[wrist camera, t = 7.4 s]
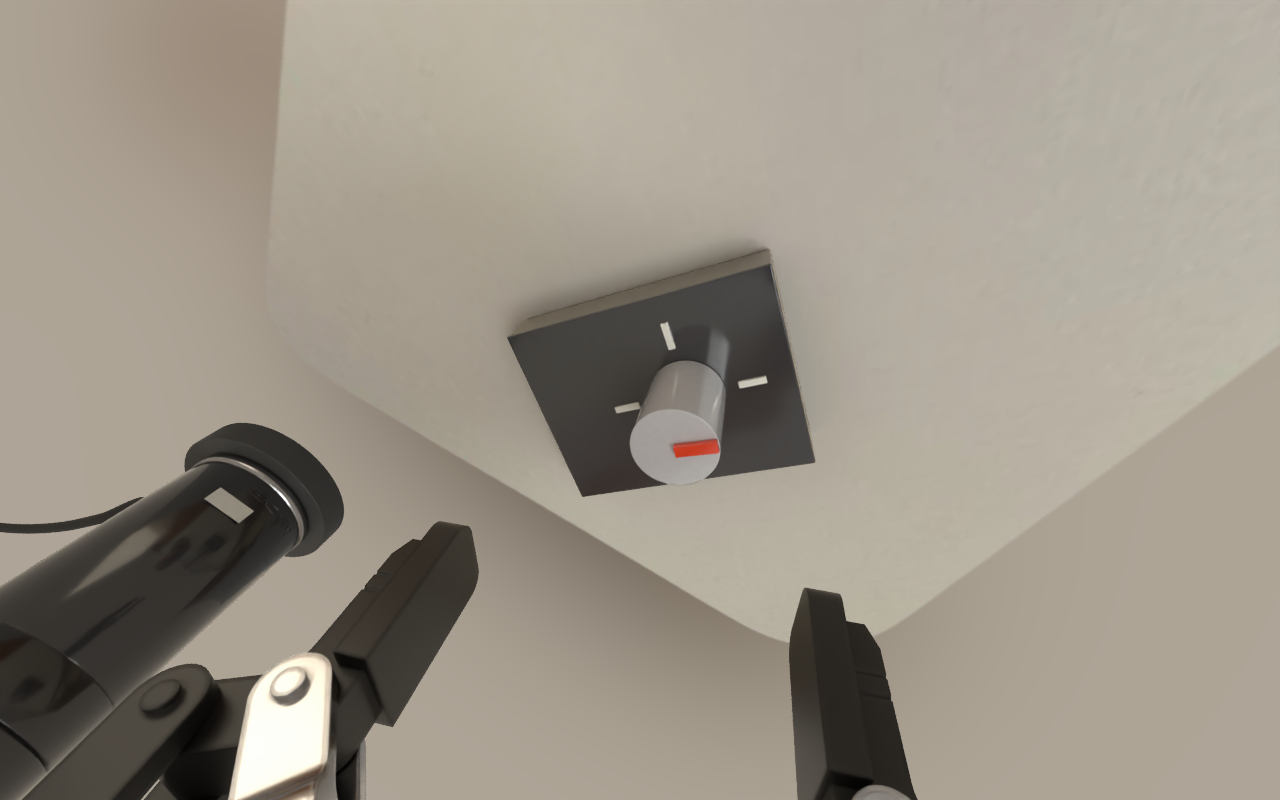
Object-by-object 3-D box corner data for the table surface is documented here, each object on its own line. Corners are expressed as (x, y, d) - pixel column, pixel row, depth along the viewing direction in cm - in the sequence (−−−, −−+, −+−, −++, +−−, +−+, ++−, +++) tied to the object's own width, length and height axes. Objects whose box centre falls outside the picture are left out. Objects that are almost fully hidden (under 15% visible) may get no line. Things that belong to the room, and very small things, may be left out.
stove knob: (660, 431, 28) (641, 493, 23) (641, 366, 26) (617, 419, 21) (732, 422, 26) (727, 485, 22) (718, 354, 25) (709, 406, 20)
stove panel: (595, 468, 34) (581, 499, 31) (527, 318, 29) (504, 338, 27) (810, 433, 29) (816, 465, 26) (769, 248, 25) (771, 264, 22)
